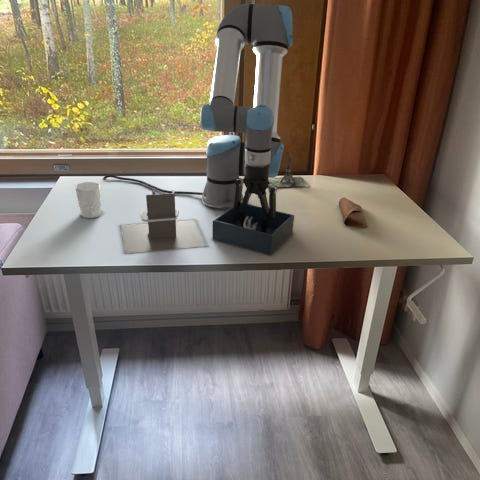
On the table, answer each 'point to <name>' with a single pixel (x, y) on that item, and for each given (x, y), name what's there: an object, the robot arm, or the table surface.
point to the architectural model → (161, 228)
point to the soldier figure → (249, 223)
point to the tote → (267, 243)
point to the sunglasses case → (351, 213)
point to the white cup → (89, 199)
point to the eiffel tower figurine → (288, 178)
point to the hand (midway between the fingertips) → (253, 233)
